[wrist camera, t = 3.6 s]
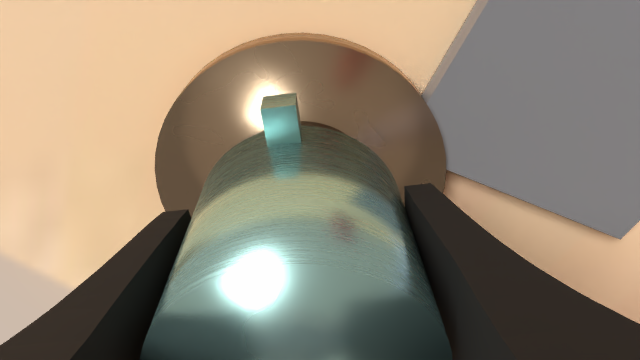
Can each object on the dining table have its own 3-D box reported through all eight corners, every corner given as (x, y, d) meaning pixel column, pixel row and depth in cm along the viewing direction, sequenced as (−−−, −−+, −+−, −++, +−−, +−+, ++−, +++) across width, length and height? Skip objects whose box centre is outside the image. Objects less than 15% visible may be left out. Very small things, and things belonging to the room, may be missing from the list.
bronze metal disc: (494, 105, 12) (526, 138, 10) (362, 298, 16) (368, 346, 14) (209, -24, 10) (188, -11, 8) (136, 230, 14) (112, 274, 12)
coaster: (848, -17, 10) (877, -14, 10) (609, 227, 14) (620, 239, 14) (591, -196, 9) (610, -203, 8) (394, 140, 12) (398, 150, 12)
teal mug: (403, 299, 13) (445, 469, 9) (232, 316, 13) (199, 489, 9) (398, 77, 9) (464, 197, 5) (164, 105, 9) (63, 240, 5)
